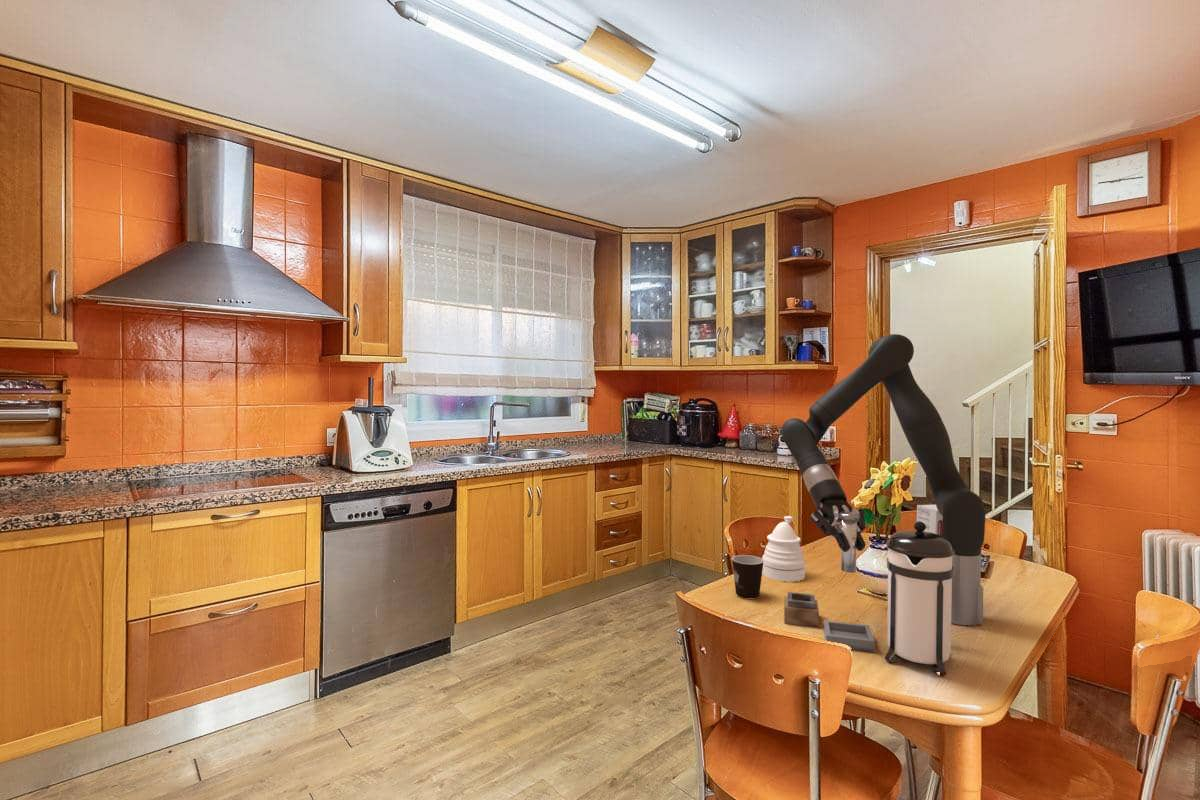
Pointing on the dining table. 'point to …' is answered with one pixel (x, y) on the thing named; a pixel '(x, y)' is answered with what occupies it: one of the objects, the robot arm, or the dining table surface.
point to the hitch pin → (849, 540)
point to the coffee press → (919, 597)
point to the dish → (850, 635)
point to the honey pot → (784, 554)
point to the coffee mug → (747, 575)
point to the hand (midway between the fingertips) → (854, 549)
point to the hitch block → (801, 609)
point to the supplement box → (930, 518)
